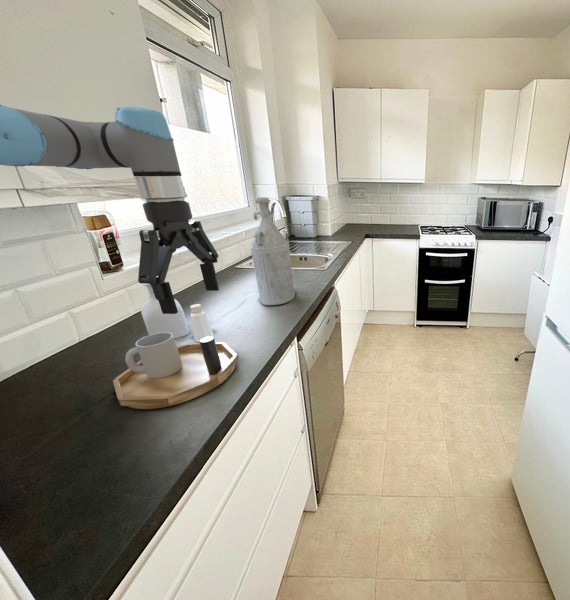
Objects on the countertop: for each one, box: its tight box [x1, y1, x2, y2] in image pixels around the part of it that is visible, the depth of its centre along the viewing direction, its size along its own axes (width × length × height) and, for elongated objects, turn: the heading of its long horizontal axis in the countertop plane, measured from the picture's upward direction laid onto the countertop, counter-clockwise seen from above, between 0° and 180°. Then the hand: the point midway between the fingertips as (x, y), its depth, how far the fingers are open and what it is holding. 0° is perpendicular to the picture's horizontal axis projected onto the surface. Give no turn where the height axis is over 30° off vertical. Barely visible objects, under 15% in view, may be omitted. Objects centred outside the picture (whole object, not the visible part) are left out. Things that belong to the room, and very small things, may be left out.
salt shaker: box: [189, 303, 215, 343], centre depth 94 cm, size 5×5×11 cm
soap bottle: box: [140, 276, 190, 340], centre depth 93 cm, size 10×10×23 cm
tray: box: [112, 336, 239, 410], centre depth 75 cm, size 24×24×10 cm
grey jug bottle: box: [249, 196, 296, 306], centre depth 119 cm, size 13×17×40 cm
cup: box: [124, 332, 182, 379], centre depth 75 cm, size 7×10×9 cm
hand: (193, 300), depth 69 cm, fingers open, 13 cm apart
